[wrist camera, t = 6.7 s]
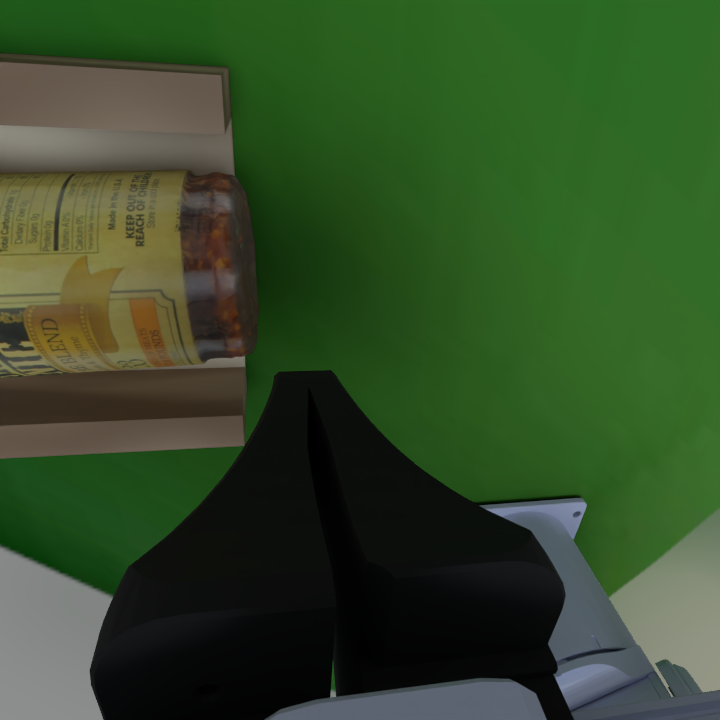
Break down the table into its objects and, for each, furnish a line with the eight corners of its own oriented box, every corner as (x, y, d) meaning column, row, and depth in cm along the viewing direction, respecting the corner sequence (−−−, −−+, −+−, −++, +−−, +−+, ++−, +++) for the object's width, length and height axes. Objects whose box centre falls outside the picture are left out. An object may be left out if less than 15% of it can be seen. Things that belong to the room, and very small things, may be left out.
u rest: (246, 389, 25) (244, 445, 21) (-111, 401, 22) (-178, 467, 19) (228, 67, 18) (221, 75, 14) (-286, 35, 15) (-439, 35, 12)
